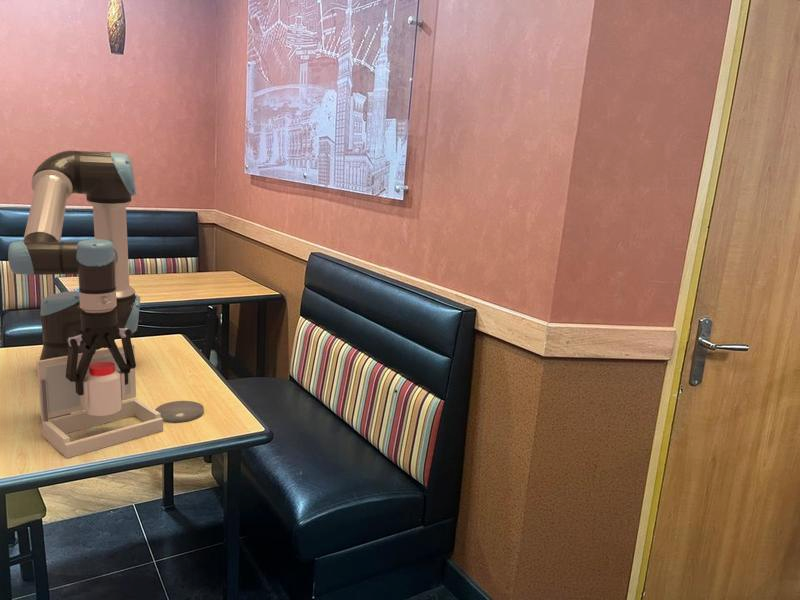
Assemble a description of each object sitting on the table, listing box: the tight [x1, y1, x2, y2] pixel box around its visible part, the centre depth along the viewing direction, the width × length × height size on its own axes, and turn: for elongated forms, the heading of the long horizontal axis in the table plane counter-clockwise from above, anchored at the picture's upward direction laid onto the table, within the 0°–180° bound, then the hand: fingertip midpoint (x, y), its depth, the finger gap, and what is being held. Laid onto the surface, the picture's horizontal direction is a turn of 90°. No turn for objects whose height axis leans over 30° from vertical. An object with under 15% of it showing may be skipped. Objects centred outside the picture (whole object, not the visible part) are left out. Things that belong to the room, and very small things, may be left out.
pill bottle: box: [84, 361, 122, 416], centre depth 147 cm, size 8×8×11 cm
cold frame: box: [36, 343, 164, 459], centre depth 147 cm, size 15×22×18 cm
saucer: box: [154, 400, 205, 424], centre depth 163 cm, size 12×12×1 cm
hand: (103, 402), depth 148 cm, fingers closed on pill bottle, 8 cm apart
